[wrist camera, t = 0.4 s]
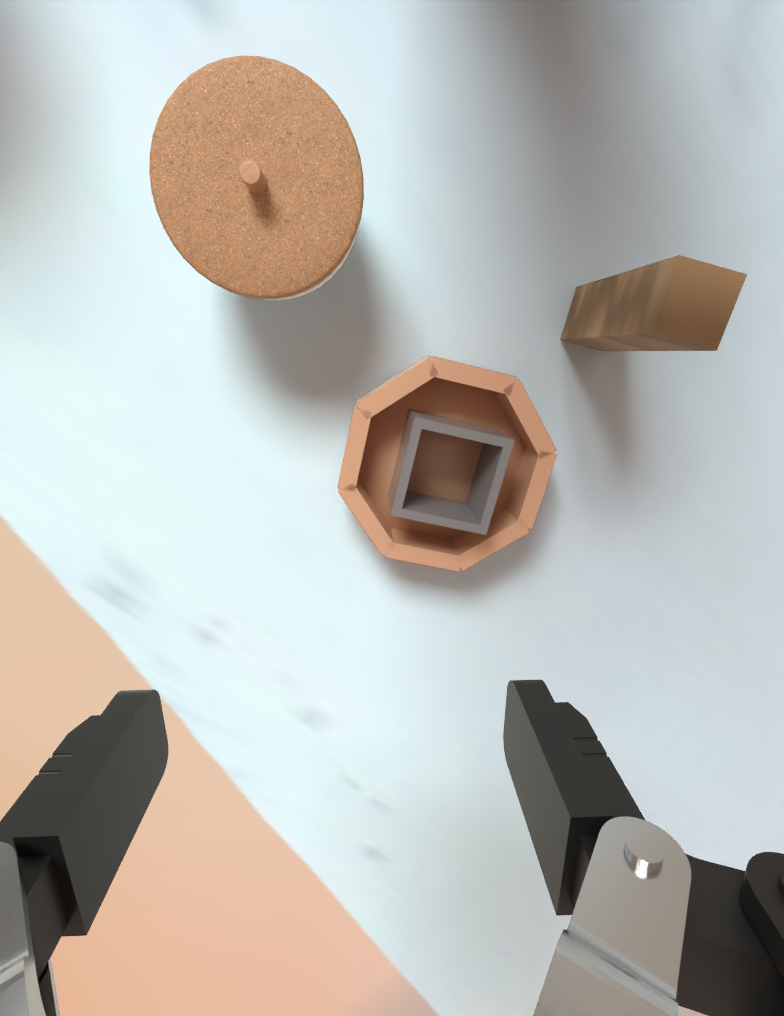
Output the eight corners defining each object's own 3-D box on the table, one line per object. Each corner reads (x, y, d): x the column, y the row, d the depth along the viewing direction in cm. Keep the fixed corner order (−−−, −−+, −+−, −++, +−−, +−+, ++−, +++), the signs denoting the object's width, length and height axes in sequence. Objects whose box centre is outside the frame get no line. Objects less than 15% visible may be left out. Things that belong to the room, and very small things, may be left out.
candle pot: (367, 341, 35) (367, 339, 29) (555, 387, 37) (590, 394, 31) (329, 526, 39) (323, 556, 33) (500, 561, 41) (522, 595, 35)
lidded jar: (398, 233, 33) (408, 189, 24) (280, 343, 35) (249, 340, 26) (284, 81, 31) (249, -31, 22) (162, 209, 32) (83, 153, 23)
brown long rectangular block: (576, 287, 35) (679, 255, 23) (623, 299, 35) (746, 274, 24) (560, 339, 36) (651, 333, 24) (606, 350, 36) (716, 350, 25)
